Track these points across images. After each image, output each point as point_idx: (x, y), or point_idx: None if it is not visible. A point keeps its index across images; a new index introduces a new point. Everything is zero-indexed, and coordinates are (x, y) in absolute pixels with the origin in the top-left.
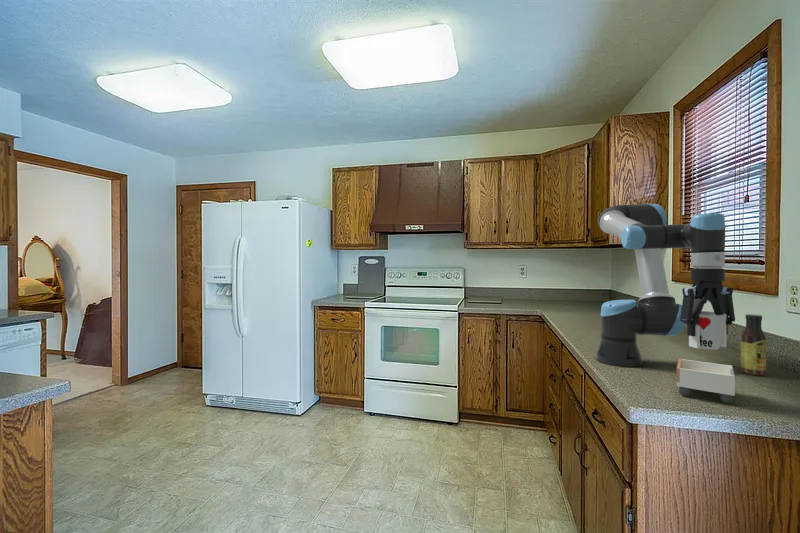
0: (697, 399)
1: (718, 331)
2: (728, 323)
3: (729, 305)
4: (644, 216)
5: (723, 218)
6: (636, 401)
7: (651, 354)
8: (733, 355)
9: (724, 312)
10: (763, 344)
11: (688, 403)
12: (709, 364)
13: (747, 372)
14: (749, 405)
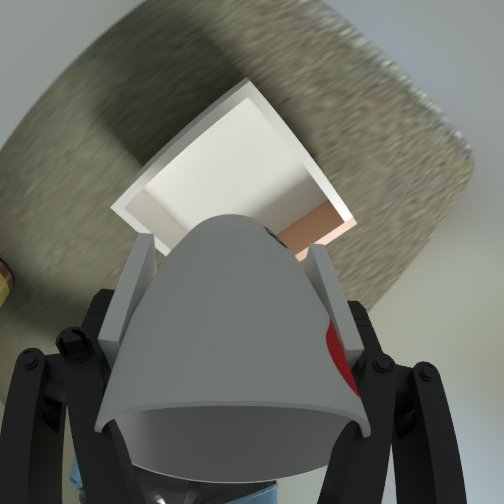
0: (302, 141)
1: (251, 267)
2: (88, 337)
3: (27, 482)
4: None
5: None
6: (450, 180)
7: None
8: None
9: (86, 437)
10: None
11: (357, 127)
12: (169, 244)
13: (8, 272)
14: (194, 70)
